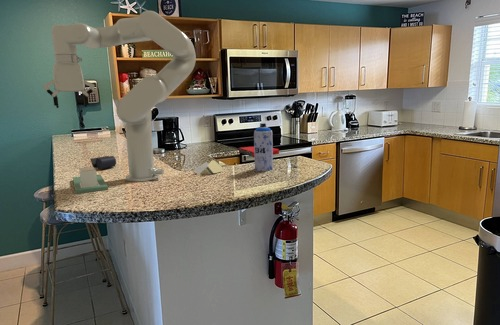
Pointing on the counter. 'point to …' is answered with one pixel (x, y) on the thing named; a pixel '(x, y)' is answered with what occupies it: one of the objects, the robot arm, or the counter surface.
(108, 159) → the speaker
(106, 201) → the counter surface
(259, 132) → the aerosol can
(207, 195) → the counter surface
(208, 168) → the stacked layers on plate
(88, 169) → the plug cap
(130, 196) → the counter surface
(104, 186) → the header board
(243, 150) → the red device housing
